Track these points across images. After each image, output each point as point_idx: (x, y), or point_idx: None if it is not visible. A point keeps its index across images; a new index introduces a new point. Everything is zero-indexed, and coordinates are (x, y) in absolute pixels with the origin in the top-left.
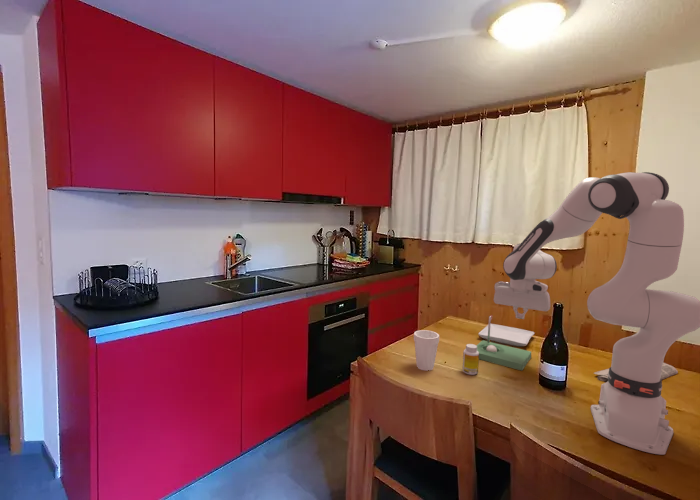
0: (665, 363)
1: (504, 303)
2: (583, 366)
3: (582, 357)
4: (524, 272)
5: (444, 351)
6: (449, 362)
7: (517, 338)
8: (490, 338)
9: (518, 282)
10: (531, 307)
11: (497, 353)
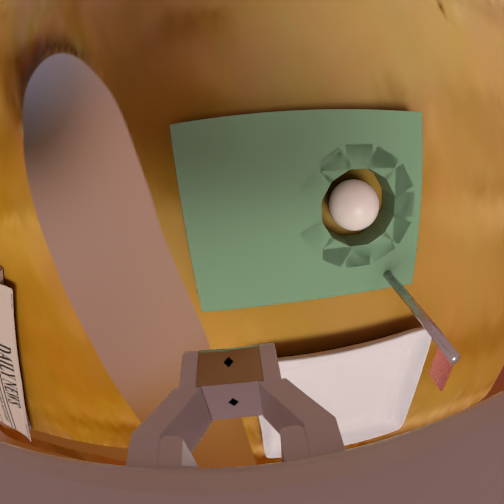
0: (3, 422)
1: (484, 419)
2: (64, 338)
3: (103, 396)
4: None
5: (483, 106)
6: (431, 11)
7: None
8: (386, 337)
9: None
10: (43, 471)
11: (316, 170)
